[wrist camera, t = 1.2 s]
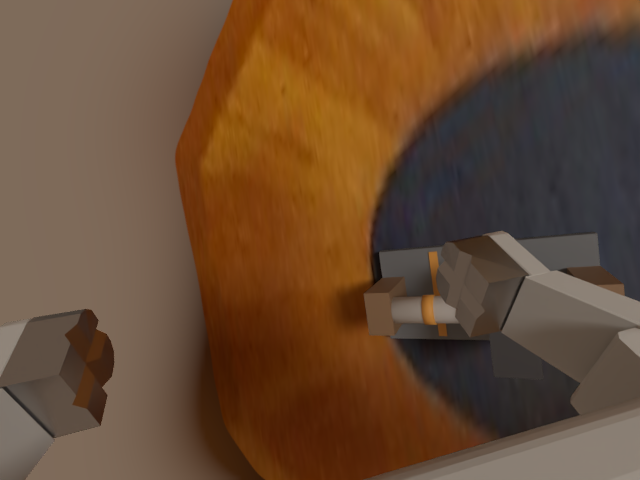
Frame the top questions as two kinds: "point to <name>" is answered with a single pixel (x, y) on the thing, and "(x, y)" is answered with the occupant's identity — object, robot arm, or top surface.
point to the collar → (513, 359)
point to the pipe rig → (438, 317)
